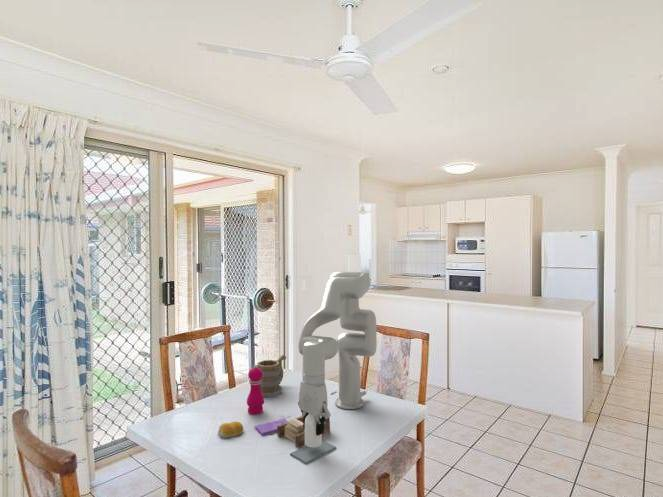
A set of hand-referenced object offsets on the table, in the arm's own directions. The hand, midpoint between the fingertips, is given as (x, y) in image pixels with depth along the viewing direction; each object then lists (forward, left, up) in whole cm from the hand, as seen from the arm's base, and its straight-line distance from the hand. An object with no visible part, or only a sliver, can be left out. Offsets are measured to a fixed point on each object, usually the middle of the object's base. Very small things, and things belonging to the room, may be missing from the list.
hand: (313, 430), depth 136 cm
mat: (0, 0, -7) cm, 7 cm away
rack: (-6, -12, -7) cm, 15 cm away
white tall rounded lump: (0, 0, -5) cm, 5 cm away
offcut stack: (-2, -12, -7) cm, 14 cm away
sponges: (-1, -23, -8) cm, 25 cm away
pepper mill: (-5, -41, -7) cm, 42 cm away
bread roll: (+13, -32, -8) cm, 35 cm away
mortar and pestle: (-26, -56, -8) cm, 62 cm away
